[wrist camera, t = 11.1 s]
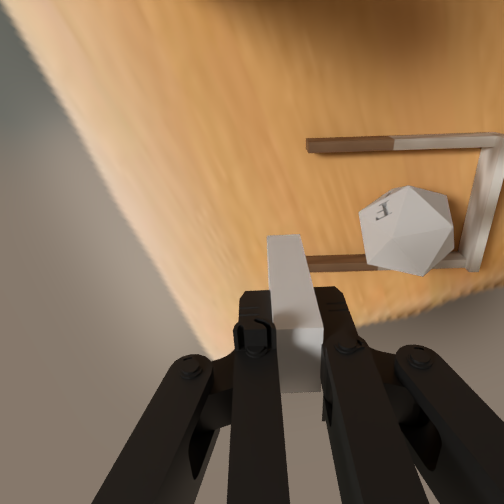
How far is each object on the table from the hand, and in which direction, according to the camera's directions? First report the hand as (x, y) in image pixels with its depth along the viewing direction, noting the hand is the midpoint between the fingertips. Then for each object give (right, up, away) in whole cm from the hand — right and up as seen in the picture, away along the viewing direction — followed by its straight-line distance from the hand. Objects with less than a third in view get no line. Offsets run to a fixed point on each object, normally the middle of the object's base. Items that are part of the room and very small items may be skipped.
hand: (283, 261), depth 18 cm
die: (+14, +4, +24) cm, 28 cm away
